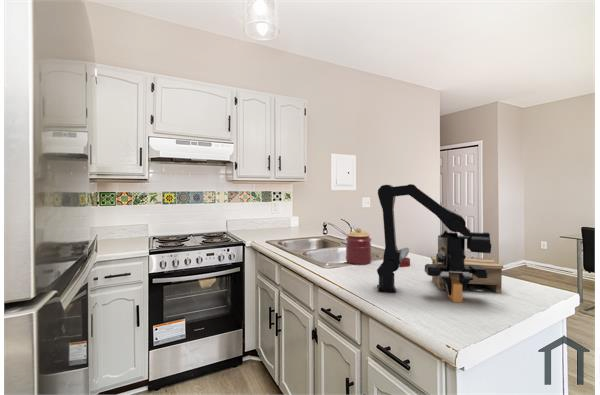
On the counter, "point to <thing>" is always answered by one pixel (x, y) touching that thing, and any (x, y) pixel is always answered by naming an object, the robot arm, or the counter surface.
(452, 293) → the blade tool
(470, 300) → the counter surface
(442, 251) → the coffee box
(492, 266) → the cabinet
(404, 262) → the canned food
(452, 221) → the robot arm
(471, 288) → the steel token
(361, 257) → the canister
